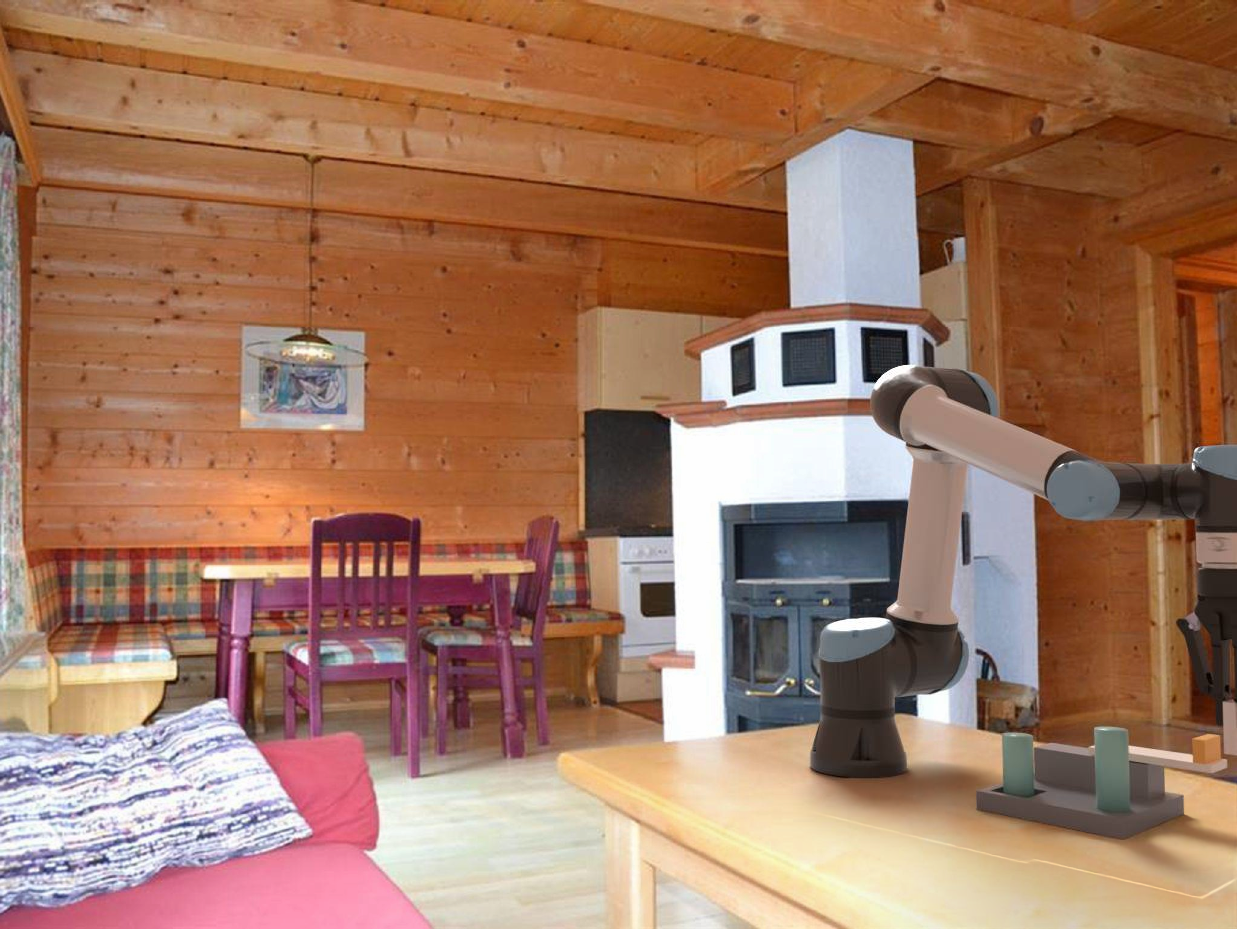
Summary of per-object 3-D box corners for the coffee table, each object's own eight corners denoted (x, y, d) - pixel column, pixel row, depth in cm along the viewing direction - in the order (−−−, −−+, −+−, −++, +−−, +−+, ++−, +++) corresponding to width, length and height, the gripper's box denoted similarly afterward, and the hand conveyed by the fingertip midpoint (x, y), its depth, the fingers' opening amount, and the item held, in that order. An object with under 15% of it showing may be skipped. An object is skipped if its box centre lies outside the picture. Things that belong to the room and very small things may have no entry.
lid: (1088, 754, 156) (1087, 724, 156) (1105, 749, 159) (1104, 720, 159) (1211, 773, 144) (1210, 741, 144) (1227, 767, 147) (1226, 736, 148)
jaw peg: (1013, 804, 158) (1011, 731, 158) (1040, 809, 155) (1038, 735, 155) (997, 809, 155) (996, 735, 155) (1025, 815, 152) (1023, 739, 152)
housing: (976, 809, 155) (974, 716, 156) (1042, 788, 167) (1040, 702, 168) (1122, 839, 140) (1120, 736, 141) (1184, 813, 152) (1181, 719, 153)
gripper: (1164, 565, 148) (1169, 749, 147) (1274, 568, 138) (1280, 765, 137) (1188, 563, 153) (1193, 741, 152) (1296, 566, 143) (1302, 756, 142)
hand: (1234, 752), depth 144 cm, fingers closed
